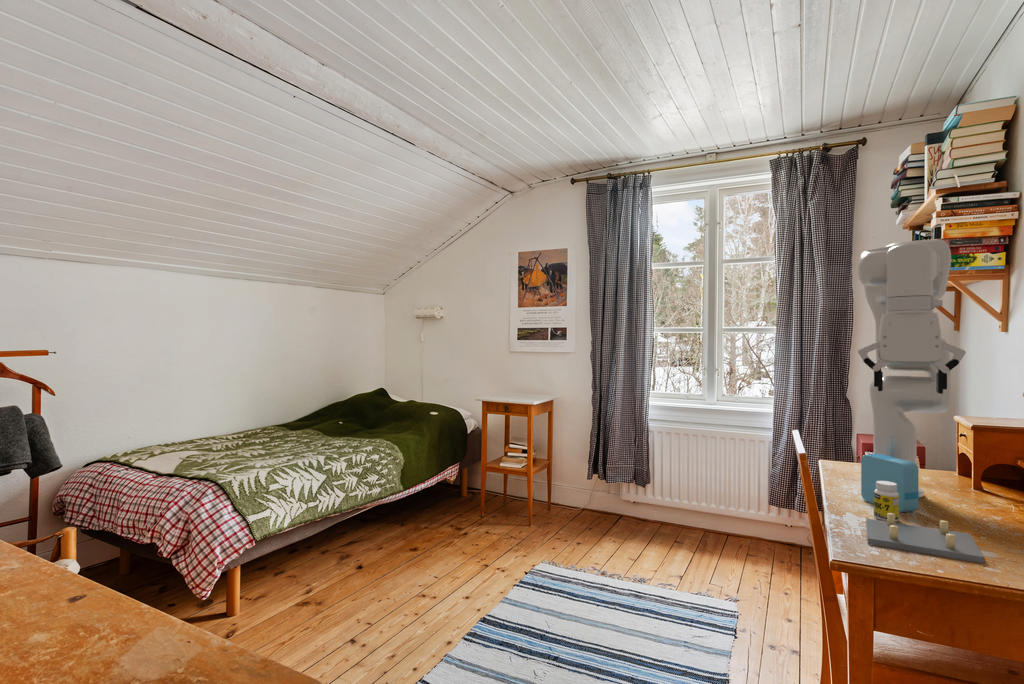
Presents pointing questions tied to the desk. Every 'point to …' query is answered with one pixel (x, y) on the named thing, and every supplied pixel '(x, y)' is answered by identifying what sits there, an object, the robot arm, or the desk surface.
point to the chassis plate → (923, 539)
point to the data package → (890, 478)
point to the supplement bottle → (886, 500)
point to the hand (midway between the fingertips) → (909, 391)
